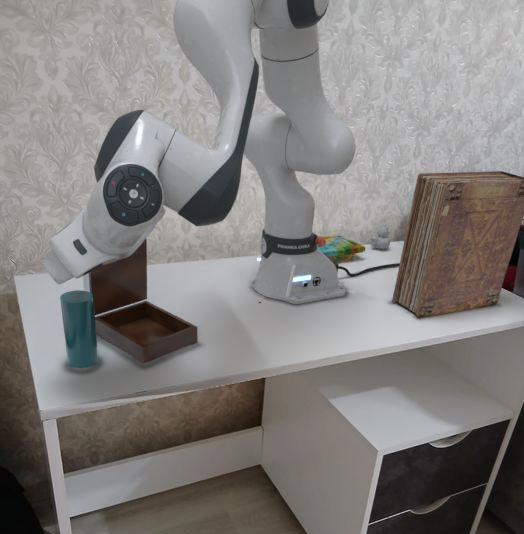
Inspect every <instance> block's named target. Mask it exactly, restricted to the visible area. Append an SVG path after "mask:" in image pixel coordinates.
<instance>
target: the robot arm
mask: <svg viewBox="0 0 524 534" xmlns="http://www.w3.org/2000/svg"><path fill="white" fill-rule="evenodd" d="M329 3H330V0H176V2H175V6H174V9H173V13H172V14H173V15H172V22H173V23H172V24H173V30H174V33H175V37H176V40H177V42H178V45H179V47H180V49H181V51H182V52H183V54H184V56H185V58H186V59H187V60H188V61H189V63H190V64H191V65H192V66H193V68H195V69H196V71H198V73H199V74H200V75H201V76H202V77H203V78H204V80H205V81H206V82H207V84H208V86H209V87H210V88H211V90H212V91H213V93H214V94H215V96H216V98H217V100H218V104H219V107H220V109H219V110H220V112H219V118H218V123H217V127H216V131H215V136H214V139H213V145H212V148H209V147H206V146H205V145H203V144H202V143H200V142H198V141H197V140H196V139H193V138H192V137H190V136H188V135H186V134H185V133H183V132H182V131H180V130H178V129H176V127H175V126H173V125H171V124H169V123H168V122H166V121H164V120H163V119H161V118H159V117H157V116H156V115H154V114H152V113H151V112H148V111H147V110H145V109H137V110H133V111H129V112H127V113H125V114H123V115H120V116H119V117H117V118H116V119H115V121H113V124H112V125H111V127H110V128H109V130H108V131H107V134H106V135H105V138H104V139H103V141H102V144H101V147H100V148H99V152H98V155H97V158H96V161H95V164H94V166H93V170H94V171H93V172H94V177H95V180H96V184H95V186H94V188H93V189H92V192H91V193H90V196H89V198H88V200H87V204H86V207H85V208H84V209H82V210H81V211H80V212H79V214H78V215H77V216H76V217H75V218H74V219H73V220H72V221H71V222H70V223H69V224H67V225H66V226H65V227H64V228H63V229H61V230H59V231H58V232H57V233H56V234H55V235H54V236H52V237H51V238H49V241H48V244H49V246H50V248H49V249H48V251H47V252H46V254H45V257H44V259H43V267H44V269H45V270H46V272H47V274H48V275H49V276H50V277H51V279H52V280H53V281H54V282H55V283H56V284H57V285H62V284H64V283H66V282H68V281H69V280H72V279H80V278H83V275H86V274H88V273H89V272H91V271H93V270H95V269H97V268H99V267H101V266H103V265H105V264H109V263H112V262H115V261H117V260H121V259H124V258H127V257H128V256H130V255H132V254H133V253H134V252H135V251H136V250H137V248H138V247H139V246H140V245H141V244H142V243H143V241H144V240H145V239H146V238H148V237H149V236H150V235H151V233H152V232H153V231H154V229H155V228H156V226H157V224H158V222H160V221H161V220H162V219H163V218H164V216H165V214H166V212H167V211H166V209H165V207H166V208H168V209H171V210H172V211H174V212H176V213H177V215H179V216H180V217H182V218H183V219H185V220H186V221H188V222H189V223H191V224H192V225H193V226H195V227H204V226H211V225H214V224H218V223H220V222H223V221H225V220H226V218H227V217H228V215H229V213H230V212H231V211H232V209H233V207H234V206H235V204H236V202H237V197H238V194H239V189H240V184H241V177H242V165H243V159H244V157H245V158H246V159H247V160H248V162H249V163H250V164H251V165H252V167H253V168H254V169H255V172H256V173H257V174H258V177H259V179H260V182H261V184H262V188H263V193H264V202H265V204H264V205H265V206H264V207H265V208H264V228H263V229H262V231H261V239H260V254H261V256H260V257H257V258H256V261H257V262H259V267H258V270H257V274H256V276H255V277H256V278H255V280H254V282H253V284H252V287H253V289H254V291H255V292H256V293H258V294H259V295H262V296H263V297H267V298H270V299H275V300H278V301H284V302H287V303H289V304H293V305H301V304H306V303H312V302H317V301H322V300H329V299H334V298H339V297H345V296H346V289H347V288H346V287H345V285H344V283H342V282H341V281H340V280H339V277H338V273H339V270H343V271H344V272H345V273H346V274H347V276H349V277H358V276H360V275H362V274H365V273H367V272H369V271H374V270H379V269H383V268H392V267H399V265H400V262H397V263H388V264H383V265H377V266H372V267H368V268H366V269H363V270H361V271H359V272H355V273H351V272H350V271H349V269H348V268H347V267H344V266H341V265H339V263H338V262H333V261H331V260H329V259H328V258H327V257H326V256H325V255H324V254H323V253H322V252H321V251H320V250H318V249H317V245H318V246H319V247H324V245H326V244H325V243H326V240H325V239H323V238H322V237H323V236H319V235H318V234H316V233H315V232H313V226H314V220H315V219H314V217H315V210H316V209H315V208H316V203H315V199H314V197H313V195H312V194H311V193H310V191H309V190H307V189H306V188H305V187H303V185H301V183H300V182H299V180H298V178H297V174H296V172H300V173H305V174H309V175H310V174H311V175H316V176H331V175H332V176H333V175H341V174H342V173H344V172H345V171H346V170H347V169H348V168H349V167H350V166H351V164H352V162H353V160H354V158H355V154H356V139H355V135H354V133H353V131H352V129H351V128H350V127H349V126H348V125H346V124H345V123H344V122H343V121H342V120H341V119H340V118H339V117H338V116H337V114H336V112H334V110H333V108H332V107H331V105H330V104H329V101H328V99H327V97H326V94H325V92H324V88H323V83H322V75H321V62H320V41H319V39H320V37H319V29H318V23H319V22H320V21H321V20H322V19H323V18H324V16H325V15H326V13H327V10H328V7H329ZM252 30H258V40H259V52H260V61H261V70H262V79H263V80H262V81H263V89H264V92H265V95H266V97H267V98H268V99H269V101H270V102H271V103H272V104H273V105H274V106H275V107H277V108H278V109H279V110H281V111H282V112H283V113H276V112H265V113H257V114H253V111H254V107H255V102H256V98H257V97H256V96H257V91H258V85H259V78H260V66H259V63H258V61H257V59H256V57H255V55H254V52H253V46H252V45H253V44H252ZM164 206H165V207H164Z"/></svg>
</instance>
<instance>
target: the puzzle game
mask: <svg viewBox="0 0 524 534" xmlns="http://www.w3.org/2000/svg"><path fill="white" fill-rule="evenodd" d="M321 237H322V238H323V239H325V240H326V243H325V244H326V245H324V247H319V246H318V245H317V249H318V250H320V251H321V252H322V253H323V254H324V255H325V256H326V257H327V258H328V259H329V260H331V261H333V262H335V263H338V262H345V261H349V260H351V259H352V258H354V256H355V254H362V253H364V252H365V251H366V246H364V245H362V244H360V243H358V242H356V241H354V240H351V239H349V238H347V237H345V236H343V235H340V234H336V235H335V234H334V235H326V236H321Z"/></svg>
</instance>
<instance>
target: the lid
mask: <svg viewBox="0 0 524 534" xmlns="http://www.w3.org/2000/svg"><path fill="white" fill-rule="evenodd" d="M147 238H148V237H147ZM147 238H146V239H145V240H144V241H143V243H142V244H141V245H140V246H139V247H138V248H137V250H136V251H135V252H134V253H133V254H132V255H130V256H128V257H127V258H124V259H121V260H117V261H115V262H112V263H109V264H105V265H103V266H101V267H99V268H97V269H95V270H93V271H91V272H89V286H90V293H92V294H93V299H94V311H95V316H99V315H102V314H106V313H109V312H112V311H115V310H118V309H121V308H125V307H128V306H131V305H134V304H137V303H140V302H143V301H147V300H148V243H147V242H148V241H147V240H148V239H147Z"/></svg>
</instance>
